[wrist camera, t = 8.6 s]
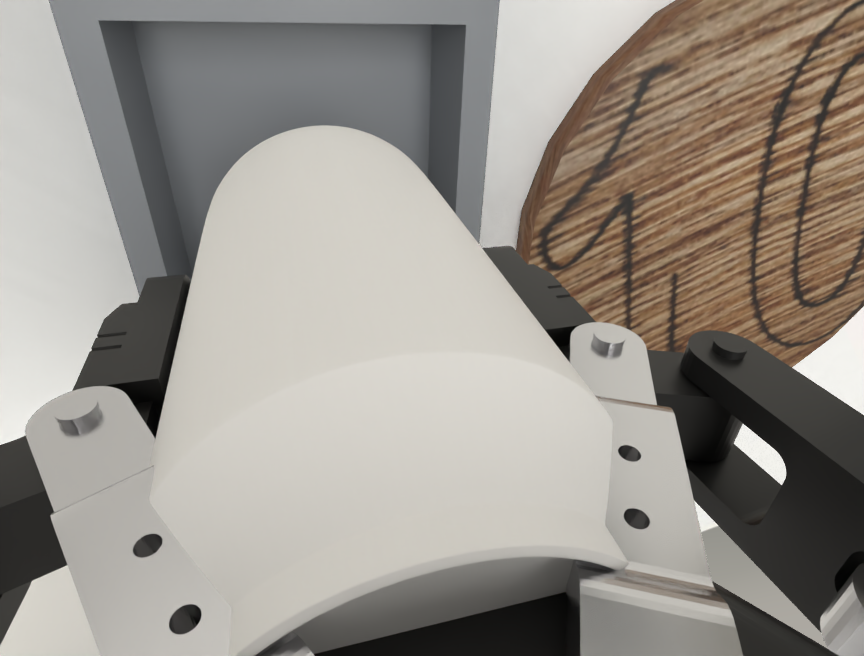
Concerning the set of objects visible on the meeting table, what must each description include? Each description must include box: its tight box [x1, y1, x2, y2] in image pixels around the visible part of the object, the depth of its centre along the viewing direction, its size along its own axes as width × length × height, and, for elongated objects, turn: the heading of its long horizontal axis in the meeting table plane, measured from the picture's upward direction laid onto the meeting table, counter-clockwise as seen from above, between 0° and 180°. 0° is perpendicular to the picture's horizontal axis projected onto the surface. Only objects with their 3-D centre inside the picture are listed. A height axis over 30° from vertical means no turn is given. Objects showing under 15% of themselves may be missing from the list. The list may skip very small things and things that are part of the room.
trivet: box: [516, 0, 864, 368], centre depth 29 cm, size 25×25×2 cm
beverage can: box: [149, 125, 629, 656], centre depth 10 cm, size 6×6×12 cm
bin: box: [49, 0, 500, 295], centre depth 20 cm, size 12×12×5 cm
